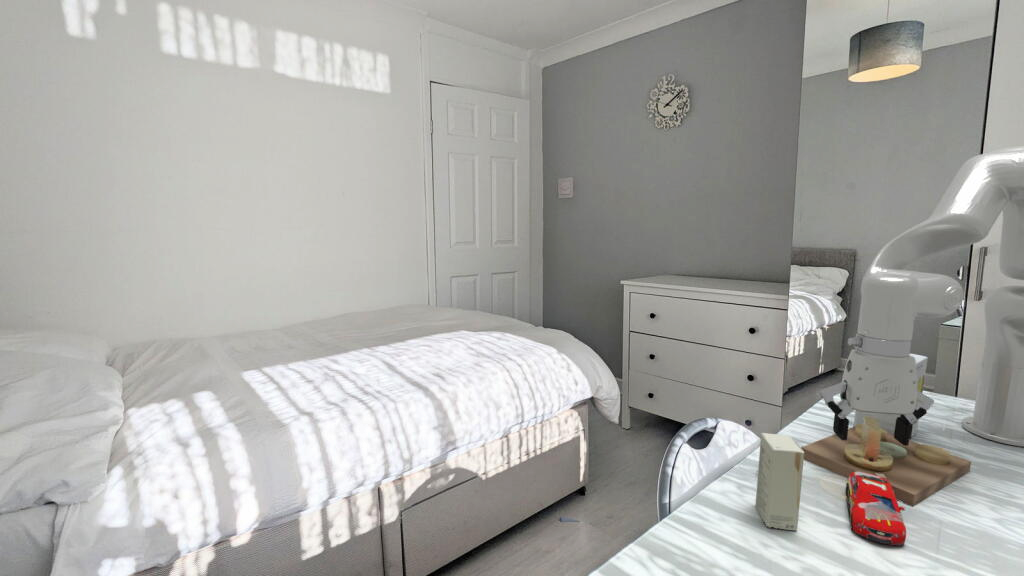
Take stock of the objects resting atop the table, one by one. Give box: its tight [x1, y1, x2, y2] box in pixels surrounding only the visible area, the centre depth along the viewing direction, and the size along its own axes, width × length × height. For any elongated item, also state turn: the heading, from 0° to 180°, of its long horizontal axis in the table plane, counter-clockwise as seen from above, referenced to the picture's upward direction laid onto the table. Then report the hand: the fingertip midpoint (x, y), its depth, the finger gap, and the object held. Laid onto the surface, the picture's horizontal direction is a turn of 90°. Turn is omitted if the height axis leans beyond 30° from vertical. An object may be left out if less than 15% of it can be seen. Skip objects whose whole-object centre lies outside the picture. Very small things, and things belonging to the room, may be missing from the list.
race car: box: [845, 471, 907, 546], centre depth 75 cm, size 16×7×5 cm, turn 148°
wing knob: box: [844, 416, 893, 471], centre depth 88 cm, size 7×7×7 cm
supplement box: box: [853, 353, 928, 438], centre depth 105 cm, size 10×9×17 cm
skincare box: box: [755, 432, 805, 531], centre depth 74 cm, size 6×4×12 cm
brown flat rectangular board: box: [800, 424, 972, 507], centre depth 91 cm, size 22×18×4 cm
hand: (870, 439), depth 88 cm, fingers open, 9 cm apart
